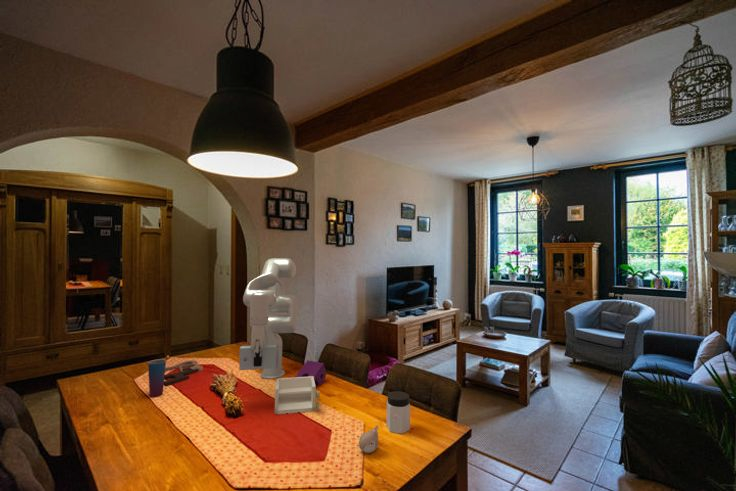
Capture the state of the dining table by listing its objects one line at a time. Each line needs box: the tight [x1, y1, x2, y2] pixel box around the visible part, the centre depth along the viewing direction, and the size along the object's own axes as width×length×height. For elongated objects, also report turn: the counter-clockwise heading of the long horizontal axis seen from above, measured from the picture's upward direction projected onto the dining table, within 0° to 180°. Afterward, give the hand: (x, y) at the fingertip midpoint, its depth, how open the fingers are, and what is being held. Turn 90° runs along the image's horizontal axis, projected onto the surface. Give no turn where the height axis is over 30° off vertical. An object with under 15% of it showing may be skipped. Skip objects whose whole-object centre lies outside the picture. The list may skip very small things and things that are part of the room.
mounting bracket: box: [294, 360, 327, 386], centre depth 166 cm, size 10×9×19 cm
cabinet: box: [274, 376, 321, 415], centre depth 142 cm, size 14×18×10 cm
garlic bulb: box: [358, 424, 379, 454], centre depth 111 cm, size 7×6×8 cm
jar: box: [386, 390, 411, 435], centre depth 126 cm, size 9×8×12 cm
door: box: [238, 345, 276, 371], centre depth 143 cm, size 4×15×9 cm, turn 102°
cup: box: [147, 358, 167, 398], centre depth 152 cm, size 7×7×15 cm
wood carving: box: [164, 359, 204, 387], centre depth 180 cm, size 28×2×24 cm
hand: (258, 364), depth 144 cm, fingers closed on door, 3 cm apart
